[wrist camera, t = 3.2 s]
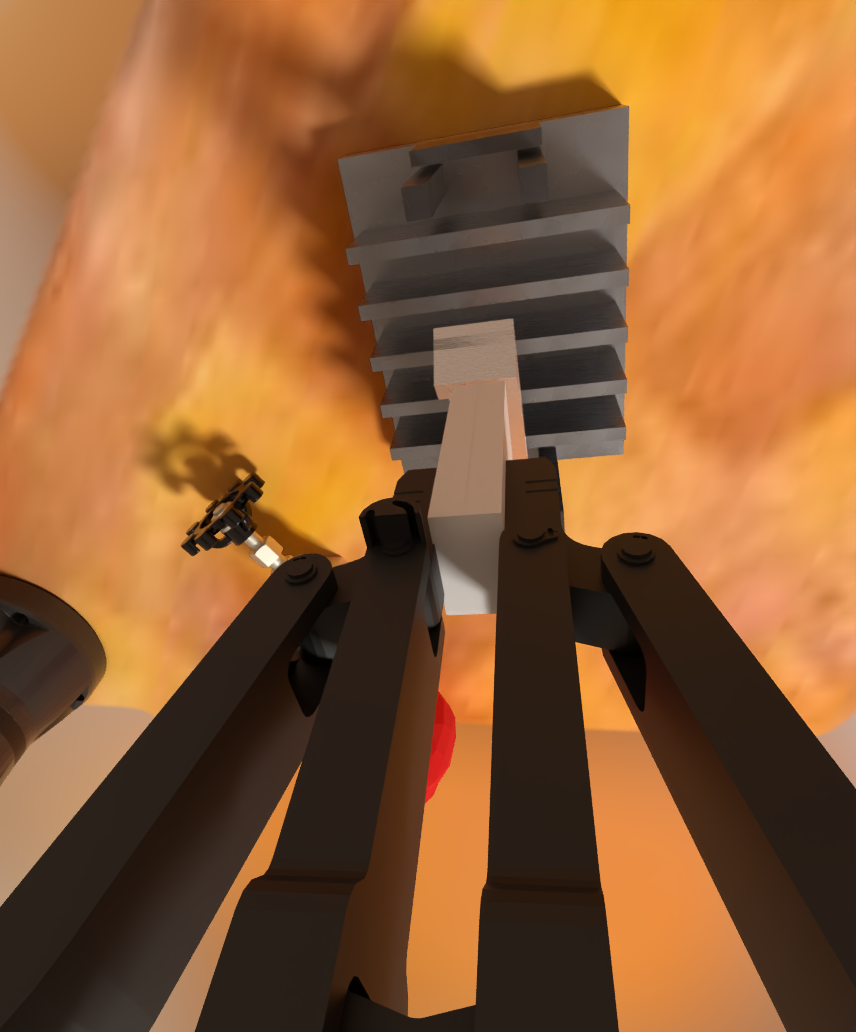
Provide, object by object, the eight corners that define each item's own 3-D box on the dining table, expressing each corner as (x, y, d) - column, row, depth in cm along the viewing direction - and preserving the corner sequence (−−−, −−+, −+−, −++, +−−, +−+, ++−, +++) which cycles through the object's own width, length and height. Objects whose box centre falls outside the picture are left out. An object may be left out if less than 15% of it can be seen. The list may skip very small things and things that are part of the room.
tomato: (474, 726, 55) (468, 842, 47) (354, 737, 58) (328, 848, 50) (438, 632, 49) (423, 746, 40) (305, 649, 52) (266, 759, 43)
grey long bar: (537, 508, 34) (539, 545, 33) (485, 511, 34) (486, 549, 33) (519, 313, 18) (523, 375, 18) (427, 325, 19) (427, 386, 18)
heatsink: (618, 449, 38) (642, 532, 31) (410, 467, 40) (390, 548, 33) (622, 104, 28) (658, 113, 21) (346, 154, 30) (298, 178, 23)
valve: (385, 572, 46) (268, 456, 41) (368, 638, 41) (232, 513, 36) (322, 607, 49) (206, 503, 44) (299, 673, 43) (164, 562, 39)
